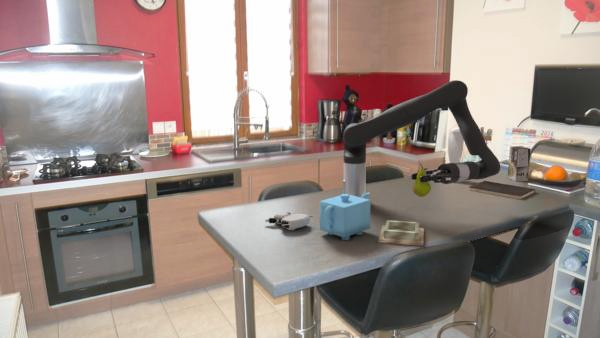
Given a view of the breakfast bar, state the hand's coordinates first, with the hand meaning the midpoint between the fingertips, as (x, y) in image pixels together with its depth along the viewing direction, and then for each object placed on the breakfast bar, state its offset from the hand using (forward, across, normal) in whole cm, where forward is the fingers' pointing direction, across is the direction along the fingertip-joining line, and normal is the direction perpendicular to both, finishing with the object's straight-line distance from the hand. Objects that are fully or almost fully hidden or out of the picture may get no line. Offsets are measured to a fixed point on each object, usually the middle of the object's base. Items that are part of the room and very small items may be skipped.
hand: (416, 178), depth 159 cm
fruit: (-3, 0, +7) cm, 8 cm away
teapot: (+26, -3, +17) cm, 31 cm away
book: (-63, -17, +18) cm, 67 cm away
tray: (+12, +8, +17) cm, 22 cm away
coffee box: (-88, -29, +17) cm, 94 cm away
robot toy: (+41, -19, +18) cm, 49 cm away
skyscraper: (-59, -43, +18) cm, 75 cm away
